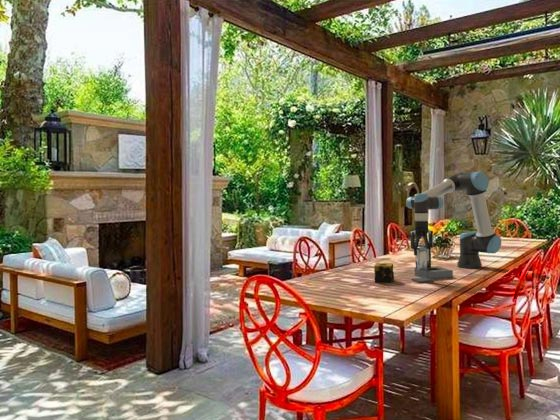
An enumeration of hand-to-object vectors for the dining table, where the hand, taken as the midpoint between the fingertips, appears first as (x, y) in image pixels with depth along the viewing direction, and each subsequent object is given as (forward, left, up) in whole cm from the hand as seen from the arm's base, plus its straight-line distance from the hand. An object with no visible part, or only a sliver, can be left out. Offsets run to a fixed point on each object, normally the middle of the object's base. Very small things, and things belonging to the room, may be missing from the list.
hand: (422, 260), depth 276 cm
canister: (-15, -25, -12) cm, 32 cm away
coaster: (0, 0, -12) cm, 12 cm away
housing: (-13, -10, -12) cm, 20 cm away
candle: (+20, -8, -12) cm, 25 cm away
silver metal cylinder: (0, 0, -5) cm, 5 cm away
